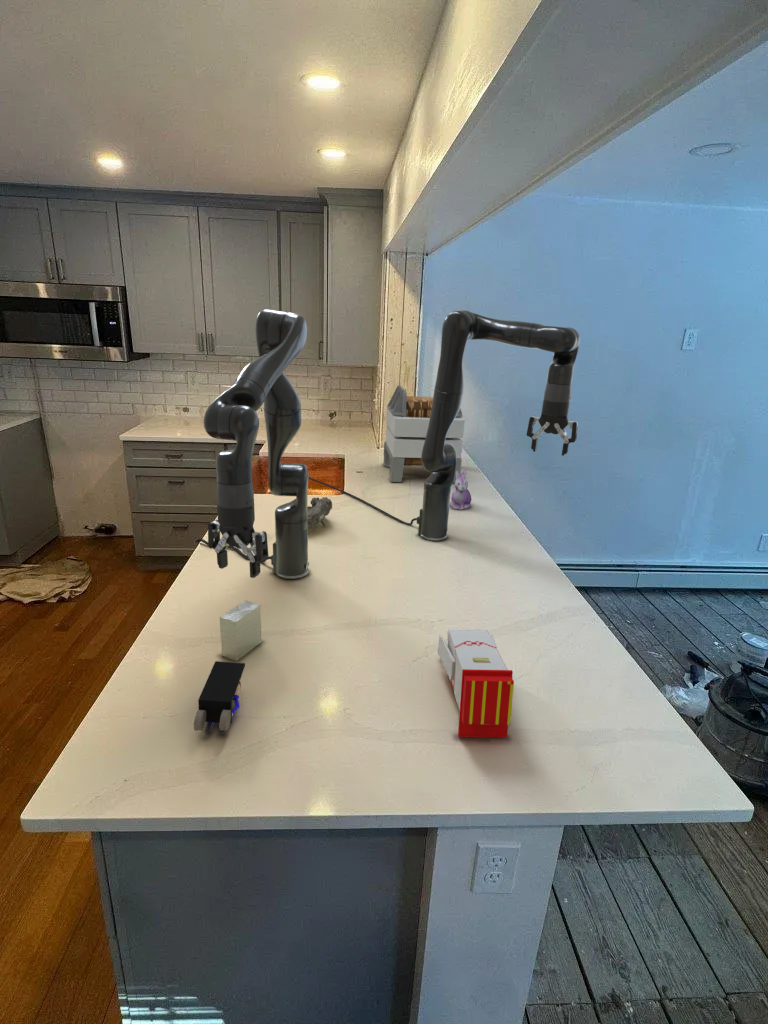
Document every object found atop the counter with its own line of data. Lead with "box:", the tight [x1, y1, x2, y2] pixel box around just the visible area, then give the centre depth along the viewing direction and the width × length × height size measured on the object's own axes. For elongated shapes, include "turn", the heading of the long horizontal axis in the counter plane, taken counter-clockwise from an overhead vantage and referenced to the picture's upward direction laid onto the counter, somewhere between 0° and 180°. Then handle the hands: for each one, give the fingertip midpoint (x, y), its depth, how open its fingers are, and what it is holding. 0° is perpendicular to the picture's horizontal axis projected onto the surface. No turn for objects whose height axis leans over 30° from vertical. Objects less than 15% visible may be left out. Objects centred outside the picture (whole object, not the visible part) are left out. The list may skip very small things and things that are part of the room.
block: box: [219, 600, 263, 662], centre depth 128 cm, size 4×9×10 cm, turn 154°
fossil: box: [307, 496, 333, 533], centre depth 202 cm, size 22×10×15 cm
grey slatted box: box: [383, 384, 465, 484], centre depth 268 cm, size 34×33×41 cm
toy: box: [437, 628, 515, 738], centre depth 117 cm, size 12×13×30 cm
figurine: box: [450, 469, 472, 511], centre depth 228 cm, size 9×10×15 cm
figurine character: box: [193, 660, 246, 736], centre depth 107 cm, size 7×8×15 cm
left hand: (238, 571), depth 123 cm, fingers open, 8 cm apart
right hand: (548, 453), depth 171 cm, fingers open, 8 cm apart
